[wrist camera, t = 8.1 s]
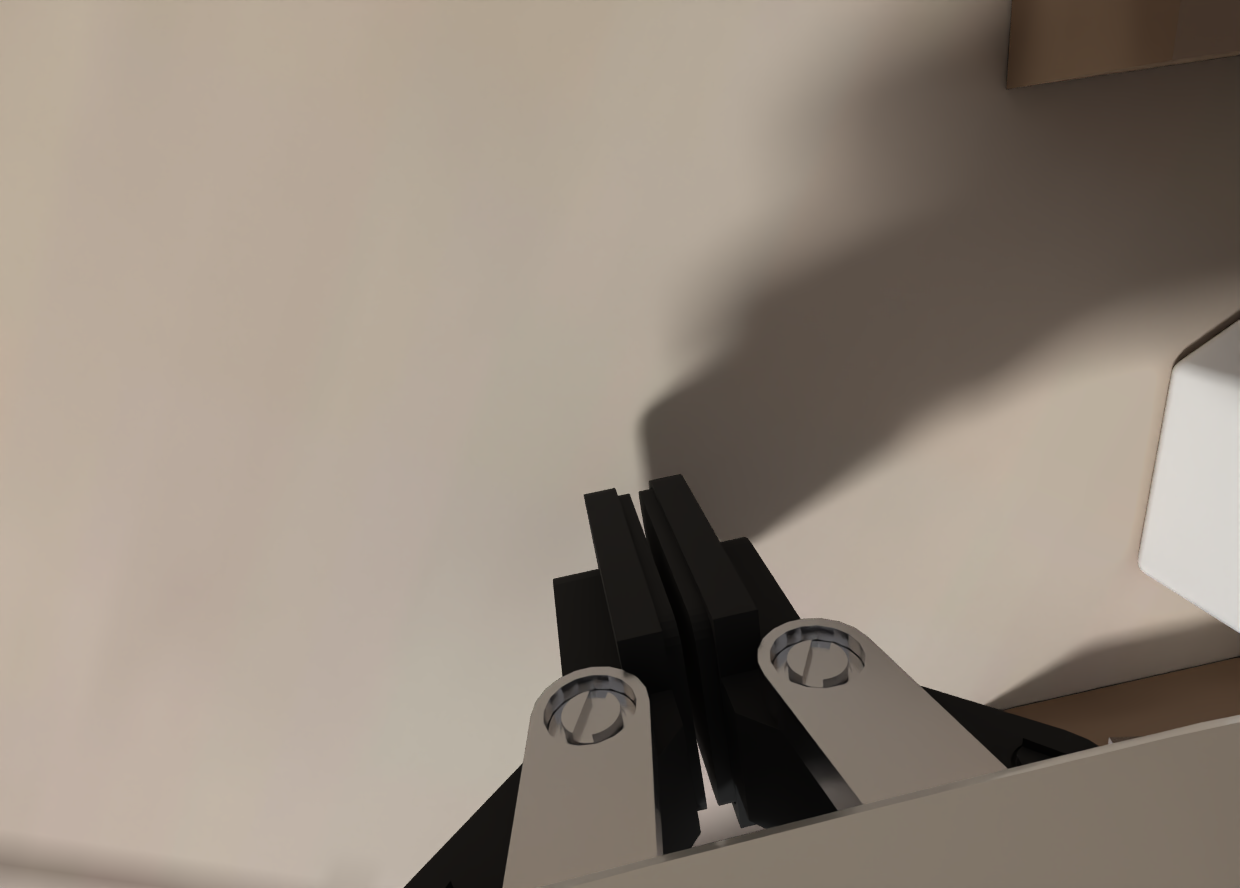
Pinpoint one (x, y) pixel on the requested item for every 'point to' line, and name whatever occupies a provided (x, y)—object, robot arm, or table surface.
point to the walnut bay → (1086, 47)
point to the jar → (1199, 483)
